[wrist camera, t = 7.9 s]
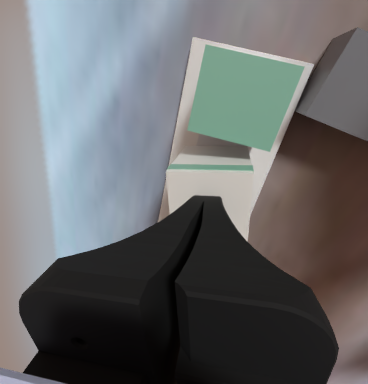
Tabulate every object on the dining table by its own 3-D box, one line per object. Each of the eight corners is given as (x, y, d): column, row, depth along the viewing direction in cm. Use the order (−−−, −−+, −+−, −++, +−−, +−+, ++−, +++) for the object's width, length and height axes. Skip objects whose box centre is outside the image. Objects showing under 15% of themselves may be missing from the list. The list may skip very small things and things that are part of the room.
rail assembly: (309, 65, 13) (351, 54, 8) (231, 252, 20) (231, 303, 15) (195, 39, 14) (175, 15, 9) (158, 230, 20) (136, 272, 16)
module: (243, 201, 16) (247, 247, 11) (187, 199, 17) (171, 240, 12) (247, 145, 14) (254, 172, 10) (185, 145, 15) (164, 170, 10)
